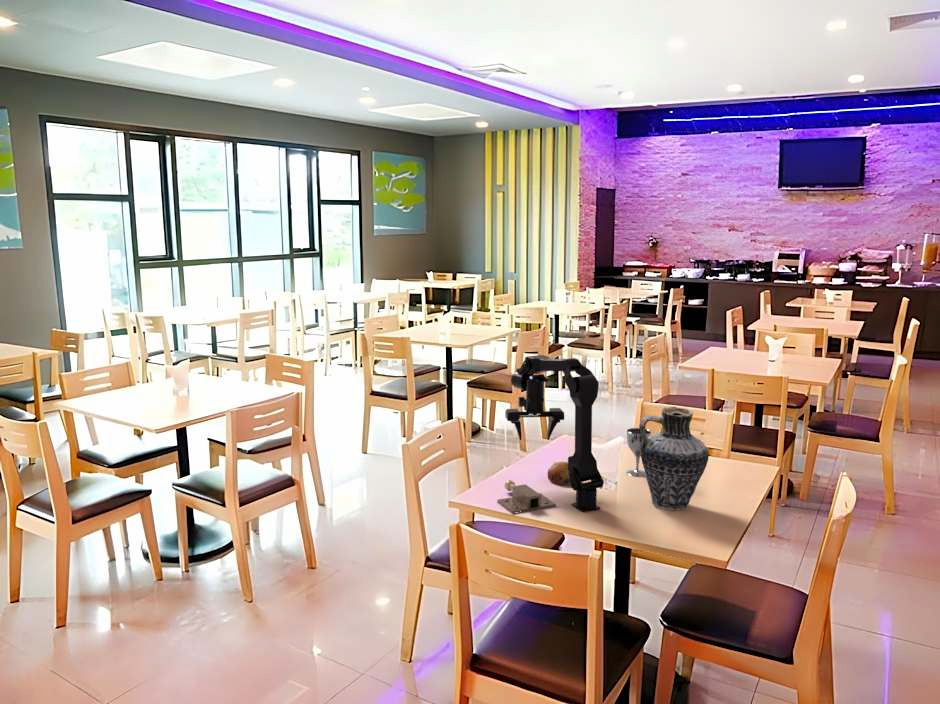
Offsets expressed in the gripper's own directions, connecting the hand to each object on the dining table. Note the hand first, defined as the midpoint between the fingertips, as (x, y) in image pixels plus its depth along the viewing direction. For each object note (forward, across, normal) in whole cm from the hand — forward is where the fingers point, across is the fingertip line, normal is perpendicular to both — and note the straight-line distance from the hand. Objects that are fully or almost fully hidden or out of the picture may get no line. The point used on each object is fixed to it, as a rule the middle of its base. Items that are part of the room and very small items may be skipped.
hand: (534, 439), depth 250 cm
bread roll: (+14, -10, +1) cm, 17 cm away
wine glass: (+14, -37, -4) cm, 39 cm away
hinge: (+14, +6, +22) cm, 27 cm away
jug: (+14, -37, +27) cm, 48 cm away
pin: (+14, +8, +17) cm, 23 cm away
